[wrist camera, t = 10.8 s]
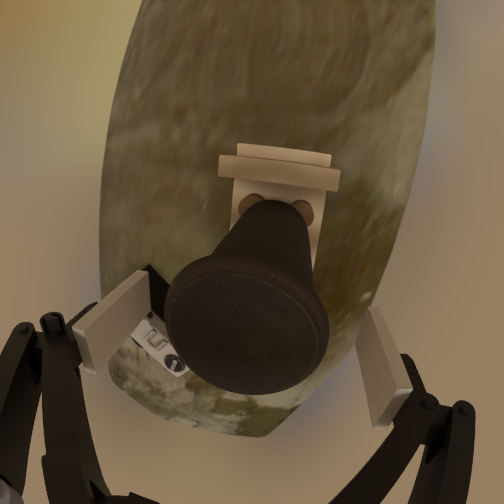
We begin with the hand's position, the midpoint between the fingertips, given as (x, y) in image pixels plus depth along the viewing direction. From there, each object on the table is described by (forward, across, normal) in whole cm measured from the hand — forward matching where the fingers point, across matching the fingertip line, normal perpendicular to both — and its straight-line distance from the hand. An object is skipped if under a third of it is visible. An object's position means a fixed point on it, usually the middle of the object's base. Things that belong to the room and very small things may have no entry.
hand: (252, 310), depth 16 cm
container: (+17, 0, -1) cm, 17 cm away
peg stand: (+21, 0, -1) cm, 21 cm away
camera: (+21, -15, -15) cm, 30 cm away
